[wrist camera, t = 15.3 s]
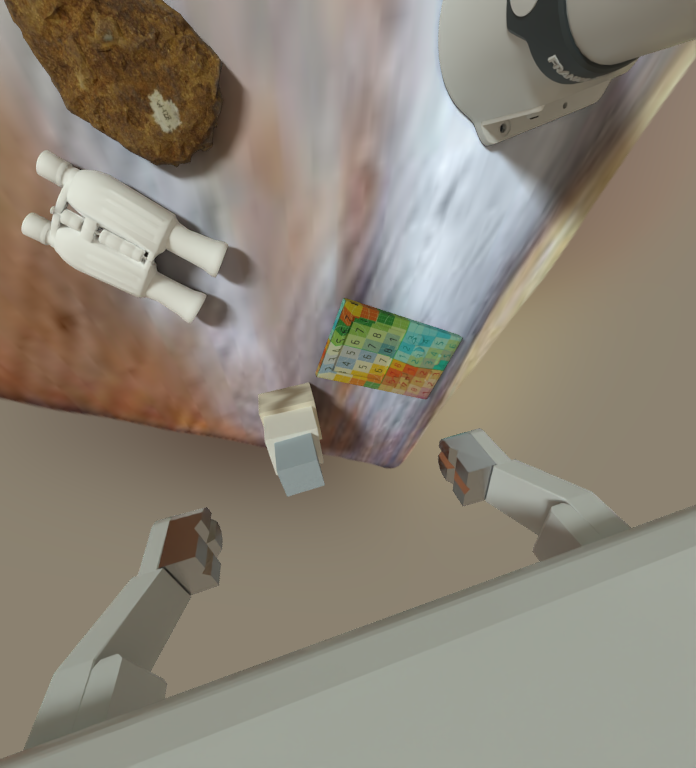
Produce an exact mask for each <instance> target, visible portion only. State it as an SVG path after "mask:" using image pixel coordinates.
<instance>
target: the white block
mask: <svg viewBox="0 0 696 768" xmlns="http://www.w3.org/2000/svg"><path fill="white" fill-rule="evenodd" d="M308 433H311V435H312V438H313V441H314V445H315V448H316V452H317V455H318V459H319V463H320V464H322V463H324V461H323V455H322V450H321V445H320V440H319V435H318V430H317V425H316V422H315V418H314V414H313V410H312V406H309V407H305V408H300V409H296V410H292V411H287V412H283V413H278V414H274V415H270V416H265V417H264V436H265V443H266V446H267V449H268V452H269V455H270V458H271V461H272V464H273V467H274V470H275V473H276V475H278V474H277V469H276V457H275V446H274V443H276V442H280V441H283V440H287V439H290V438H294V437H297V436H301V435H304V434H308Z"/></svg>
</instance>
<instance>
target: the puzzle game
mask: <svg viewBox="0 0 696 768" xmlns="http://www.w3.org/2000/svg"><path fill="white" fill-rule="evenodd" d="M462 339H463V338H462V337H461V336H459V335H457V334H454V333H451V332H448V331H445V330H442V329H439V328H436V327H433V326H430V325H427V324H424V323H420V322H417V321H414V320H411V319H408V318H405V317H402V316H399V315H396V314H393V313H390V312H387V311H383V310H380V309H377V308H374V307H371V306H368V305H365V304H362V303H359V302H356V301H353V300H350V299H346V298H343V301H342V304H341V306H340V309H339V312H338V314H337V317H336V320H335V322H334V325H333V328H332V330H331V333H330V336H329V338H328V341H327V344H326V346H325V349H324V352H323V354H322V357H321V360H320V362H319V365H318V368H317V370H316V373H315V374H316V377H320V378H325V379H330V380H335V381H340V382H344V383H349V384H354V385H359V386H364V387H369V388H374V389H378V390H383V391H388V392H393V393H397V394H402V395H407V396H411V397H416V398H421V399H427V398H428V396H429V395H430V393H431V391H432V389H433V388H434V386H435V384H436V383H437V381H438V379H439V378H440V376H441V374H442V373H443V371H444V369H445V367H446V366H447V364H448V362H449V361H450V359H451V357H452V356H453V354H454V352H455V350H456V349H457V347H458V345H459V344H460V342H461V340H462Z"/></svg>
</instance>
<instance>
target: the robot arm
mask: <svg viewBox="0 0 696 768" xmlns="http://www.w3.org/2000/svg"><path fill="white" fill-rule="evenodd" d="M695 39H696V0H443V3H442V8H441V13H440V21H439V33H438V48H439V60H440V66H441V72H442V76H443V79H444V82H445V85H446V88H447V90H448V92H449V95H450V96H451V98H452V100H453V101H454V103H455V104H456V106H457V107H458V108H459V109H460V110H461V111H462V112H463V113H464V114H465V115H466V116H468V117H469V118H470V119H471V121H472V122H473V123H474V126H475V128H476V131H477V133H478V136H479V138H480V140H481V142H482V143H483V144H484V145H486V146H490V145H493V144H496V143H499V142H501V141H504V140H506V139H508V138H511V137H513V136H516V135H518V134H521V133H523V132H526V131H528V130H531V129H533V128H535V127H538V126H540V125H543V124H545V123H548V122H550V121H553V120H555V119H557V118H560V117H562V116H565V115H567V114H570V113H572V112H575V111H577V110H580V109H582V108H584V107H587V106H589V105H592V104H594V103H595V102H597V101H598V100H599V99H600V98H601V96H602V95H603V93H604V92H605V90H606V88H607V87H608V85H609V83H610V81H611V79H612V78H615V77H617V76H620V75H622V74H625V73H626V72H627V71H628V70H629V69H630V68H631V67H632V66H633V65H634V64H635V62H636V61H637V60H638V58H639V57H640V56H644V55H647V54H650V53H653V52H656V51H660V50H663V49H666V48H669V47H672V46H676V45H679V44H682V43H685V42H688V41H692V40H695ZM501 125H502V127H503V129H502V131H501V132H500V127H501ZM439 448H440V449H441V453H440V454H439V455H438V463H439V467H440V470H441V472H442V475H443V476H444V478H445V479H446V481H448V482H450V483H452V484H453V492H454V493H455V495H456V496H457V498H458V500H459V501H460V503H461V504H462V506H466V505H469V504H473V503H476V502H480V501H483V500H486V502H487V503H489V504H491V505H492V506H494V507H495V508H497V509H498V510H500V511H502V512H503V513H504V514H506V515H508V516H509V517H511V518H512V519H514V520H515V521H517V522H518V523H520V524H521V525H523V526H525V527H526V528H528V529H529V530H531V531H532V532H534V533H535V534H537V535H538V538H537V541H536V543H535V545H534V547H533V553H534V554H535V555H536V557H537V558H538V559H539V561H540V562H538V563H535V564H532V565H530V566H527V567H524V568H521V569H519V570H516V571H513V572H510V573H508V574H505V575H502V576H499V577H496V578H494V579H491V580H488V581H486V582H483V583H480V584H478V585H475V586H472V587H469V588H467V589H464V590H461V591H458V592H456V593H453V594H450V595H447V596H444V597H442V598H439V599H436V600H434V601H431V602H428V603H425V604H423V605H420V606H417V607H414V608H412V609H409V610H406V611H403V612H401V613H398V614H396V615H393V616H390V617H387V618H384V619H382V620H379V621H376V622H374V623H371V624H368V625H365V626H362V627H360V628H357V629H354V630H351V631H349V632H346V633H343V634H341V635H338V636H335V637H332V638H330V639H327V640H324V641H321V642H319V643H316V644H313V645H310V646H308V647H305V648H302V649H300V650H297V651H294V652H291V653H289V654H286V655H283V656H280V657H278V658H275V659H272V660H269V661H267V662H264V663H261V664H259V665H256V666H253V667H250V668H248V669H245V670H242V671H239V672H237V673H234V674H231V675H228V676H226V677H223V678H220V679H218V680H215V681H212V682H209V683H207V684H204V685H201V686H198V687H196V688H193V689H190V690H188V691H185V692H182V693H179V694H177V695H174V696H171V697H168V698H165V694H166V687H167V683H166V681H165V680H164V679H163V678H161V677H159V676H157V675H156V674H153V673H152V672H151V670H152V668H153V666H154V664H155V662H156V661H157V659H158V657H159V655H160V653H161V651H162V650H163V648H164V646H165V644H166V642H167V640H168V639H169V637H170V635H171V633H172V631H173V629H174V627H175V626H176V624H177V622H178V620H179V618H180V616H181V615H182V613H183V611H184V609H185V608H186V606H187V604H188V602H189V600H190V598H191V596H190V595H193V594H196V593H199V592H202V591H204V590H207V589H210V588H213V587H216V586H219V579H220V567H221V563H220V562H219V560H218V559H217V556H218V555H219V553H220V552H221V550H222V533H221V529H220V526H219V524H218V522H217V521H215V520H213V519H211V514H212V513H211V512H210V510H209V509H208V508H202V509H199V510H195V511H191V512H187V513H184V514H179V515H176V516H172V517H168V518H165V519H162V520H158V521H156V522H155V523H154V524H153V526H152V528H151V532H150V535H149V539H148V542H147V545H146V549H145V552H144V556H143V560H142V563H141V566H140V570H139V573H138V576H135V577H133V578H131V580H130V581H129V582H128V583H127V585H126V586H125V587H124V588H123V590H122V591H121V592H120V593H119V594H118V596H117V597H116V598H115V599H114V601H113V602H112V603H111V604H110V606H109V607H108V608H107V609H106V610H105V612H104V613H103V614H102V615H101V617H100V618H99V619H98V620H97V622H96V623H95V624H94V625H93V626H92V628H91V629H90V630H89V631H88V632H87V634H86V635H85V636H84V637H83V639H82V640H81V641H80V642H79V643H78V645H77V646H76V647H75V648H74V650H73V651H72V652H71V653H70V655H69V656H68V657H67V658H66V660H65V661H64V662H63V663H62V664H61V666H60V667H59V668H58V670H57V671H56V672H55V673H54V675H53V678H52V680H51V682H50V685H49V687H48V690H47V692H46V695H45V697H44V700H43V702H42V705H41V708H40V710H39V713H38V715H37V717H36V720H35V722H34V725H33V727H32V730H31V732H30V735H29V737H28V740H27V742H26V745H25V747H24V750H23V751H21V752H18V753H15V754H12V755H10V756H7V757H4V758H2V759H0V768H696V505H694V506H691V507H688V508H685V509H683V510H680V511H677V512H675V513H672V514H669V515H666V516H663V517H661V518H658V519H655V520H653V521H650V522H647V523H644V524H642V525H639V526H636V527H633V528H631V527H630V526H629V525H628V524H626V523H625V522H624V521H623V520H622V519H621V518H620V517H619V516H618V515H617V514H616V513H615V512H613V511H612V510H611V509H610V508H609V507H608V506H607V505H606V504H605V503H603V501H601V500H600V499H599V498H598V497H597V496H596V495H595V494H594V493H593V492H591V491H589V490H587V489H584V488H582V487H579V486H577V485H575V484H572V483H570V482H568V481H565V480H563V479H561V478H558V477H556V476H554V475H551V474H549V473H547V472H544V471H542V470H540V469H537V468H535V467H532V466H530V465H528V464H525V463H523V462H521V461H518V460H516V459H514V460H511V459H510V458H509V457H508V456H507V455H506V454H505V453H504V452H503V451H502V450H501V449H500V448H499V446H498V445H497V444H496V443H495V442H494V441H493V440H492V439H491V438H490V437H489V436H488V435H487V434H486V433H485V431H483V430H482V429H480V428H479V429H475V430H472V431H468V432H464V433H460V434H457V435H454V436H451V437H447V438H444V439H441V441H440V442H439Z"/></svg>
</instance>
